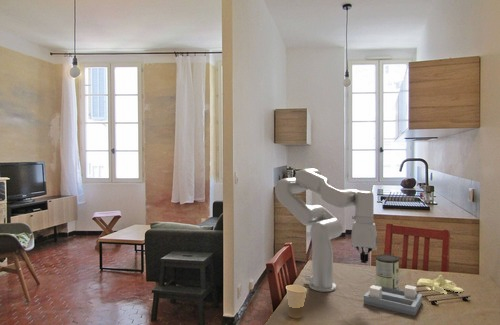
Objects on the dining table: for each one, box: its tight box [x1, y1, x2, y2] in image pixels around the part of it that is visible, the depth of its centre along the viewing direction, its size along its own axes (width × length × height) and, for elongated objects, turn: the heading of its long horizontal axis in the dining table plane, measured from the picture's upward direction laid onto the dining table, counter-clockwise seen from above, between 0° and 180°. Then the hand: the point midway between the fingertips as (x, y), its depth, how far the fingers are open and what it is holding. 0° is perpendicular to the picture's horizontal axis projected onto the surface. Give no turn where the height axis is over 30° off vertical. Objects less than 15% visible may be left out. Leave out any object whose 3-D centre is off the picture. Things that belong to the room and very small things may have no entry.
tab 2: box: [403, 284, 418, 298], centre depth 152 cm, size 4×4×5 cm
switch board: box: [363, 284, 423, 317], centre depth 152 cm, size 20×15×4 cm
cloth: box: [417, 274, 465, 295], centre depth 170 cm, size 22×19×6 cm
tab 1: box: [368, 284, 382, 299], centre depth 152 cm, size 4×4×5 cm
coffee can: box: [375, 254, 400, 290], centre depth 171 cm, size 10×10×14 cm
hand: (364, 262), depth 155 cm, fingers closed
